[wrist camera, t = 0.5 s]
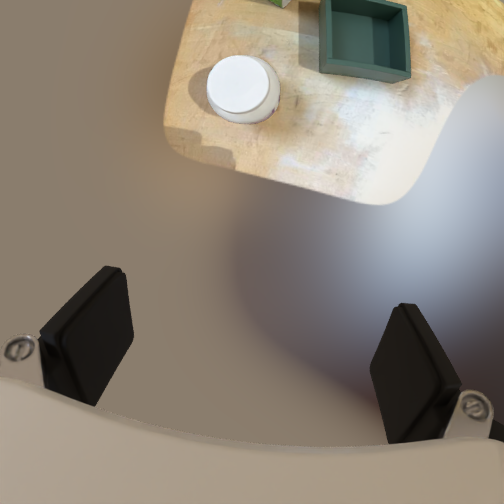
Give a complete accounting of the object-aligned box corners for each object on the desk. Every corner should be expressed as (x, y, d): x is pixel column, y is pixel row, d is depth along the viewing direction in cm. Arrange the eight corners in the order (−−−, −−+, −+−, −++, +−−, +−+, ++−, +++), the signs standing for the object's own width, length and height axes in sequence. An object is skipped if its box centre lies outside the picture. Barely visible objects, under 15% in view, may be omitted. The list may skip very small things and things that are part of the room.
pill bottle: (232, 64, 24) (210, 36, 15) (287, 80, 24) (291, 56, 16) (215, 116, 26) (185, 111, 18) (269, 131, 27) (265, 133, 18)
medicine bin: (318, 7, 21) (324, -11, 17) (390, 19, 20) (406, 5, 16) (319, 72, 24) (326, 63, 20) (392, 83, 23) (411, 78, 19)
